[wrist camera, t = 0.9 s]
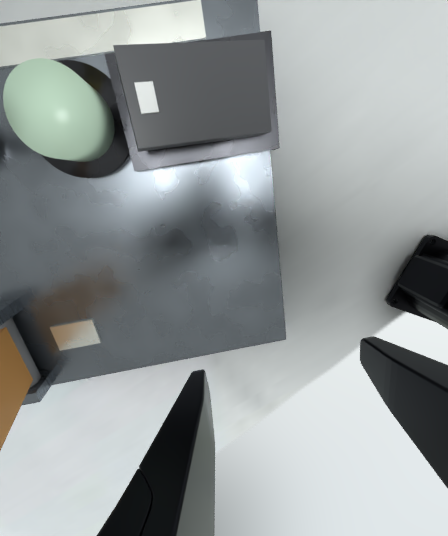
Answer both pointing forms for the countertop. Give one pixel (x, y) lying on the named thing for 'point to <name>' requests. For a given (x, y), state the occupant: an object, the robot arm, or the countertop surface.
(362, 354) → the robot arm
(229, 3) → the panel
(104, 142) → the button
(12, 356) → the paddle
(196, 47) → the labelled grey box
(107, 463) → the countertop surface
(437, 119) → the countertop surface
